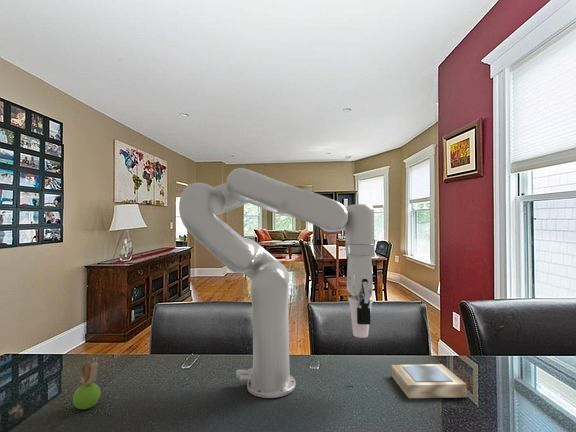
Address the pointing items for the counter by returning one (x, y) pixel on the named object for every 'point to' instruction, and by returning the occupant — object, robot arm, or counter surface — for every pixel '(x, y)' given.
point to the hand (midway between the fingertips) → (360, 319)
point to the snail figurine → (87, 387)
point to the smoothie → (358, 329)
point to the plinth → (428, 381)
